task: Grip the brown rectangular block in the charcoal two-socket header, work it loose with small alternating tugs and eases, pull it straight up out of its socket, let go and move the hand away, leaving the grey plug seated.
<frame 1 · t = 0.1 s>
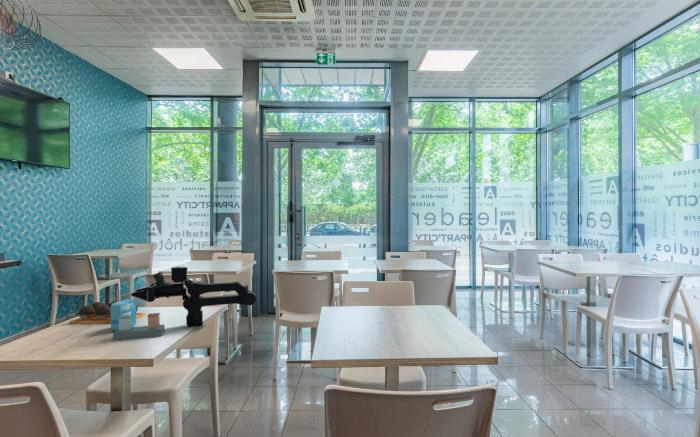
hand: (133, 292, 187), 17 cm above the table, tool horizontal, fingers open, 9 cm apart
chocolates on board: (108, 320, 209), on the table
grey plug: (125, 325, 176), point 5 cm above the table, slide at 0.0 cm
data package: (124, 328, 191), on the table
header: (139, 335, 177), on the table
brown rectangular block: (153, 323, 179), point 5 cm above the table, slide at 0.0 cm
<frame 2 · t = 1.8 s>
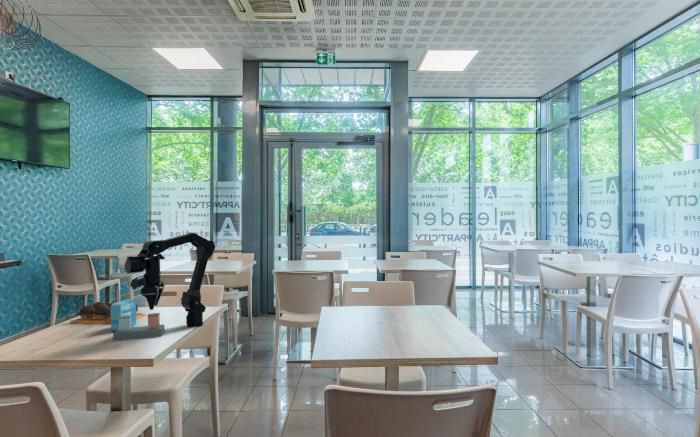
hand: (153, 307, 179), 11 cm above the table, tool pointing down, fingers open, 9 cm apart
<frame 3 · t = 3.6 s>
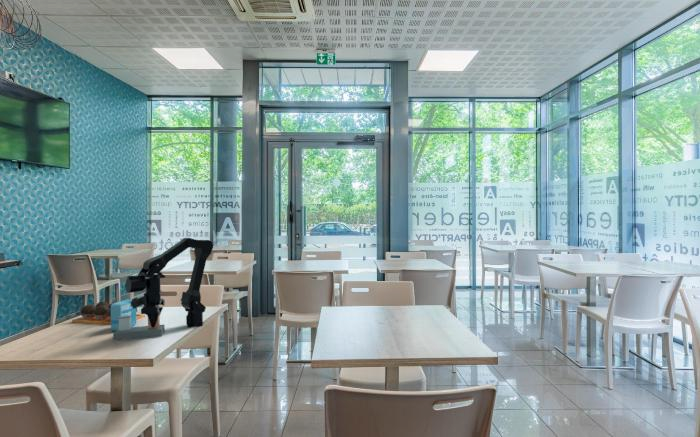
hand: (153, 326, 179), 4 cm above the table, tool pointing down, fingers closed on brown rectangular block, 3 cm apart
brown rectangular block: (153, 323, 179), point 5 cm above the table, slide at 0.0 cm, touching gripper
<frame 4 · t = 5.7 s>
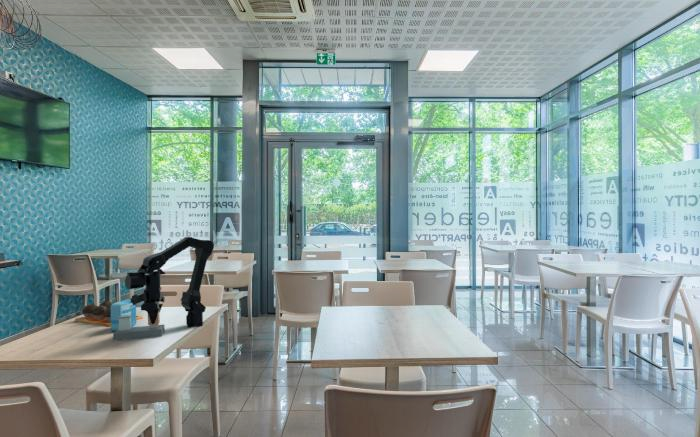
hand: (153, 322, 179), 5 cm above the table, tool pointing down, fingers closed on brown rectangular block, 3 cm apart
brown rectangular block: (153, 320, 179), point 6 cm above the table, slide at 1.4 cm, touching gripper
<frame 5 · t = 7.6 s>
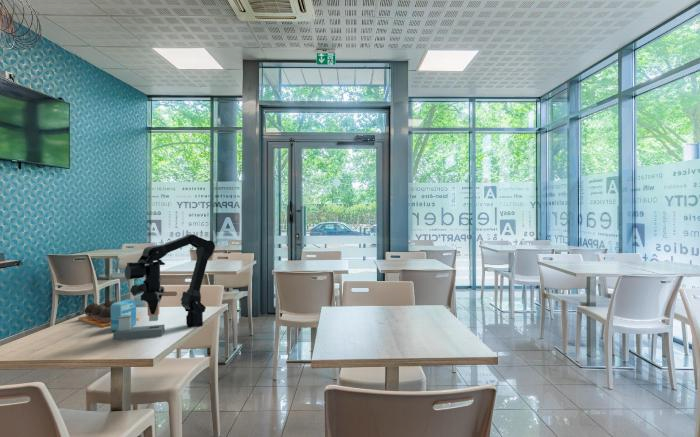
hand: (153, 313, 179), 9 cm above the table, tool pointing down, fingers closed on brown rectangular block, 3 cm apart
brown rectangular block: (153, 310, 179), point 10 cm above the table, slide at 5.4 cm, touching gripper
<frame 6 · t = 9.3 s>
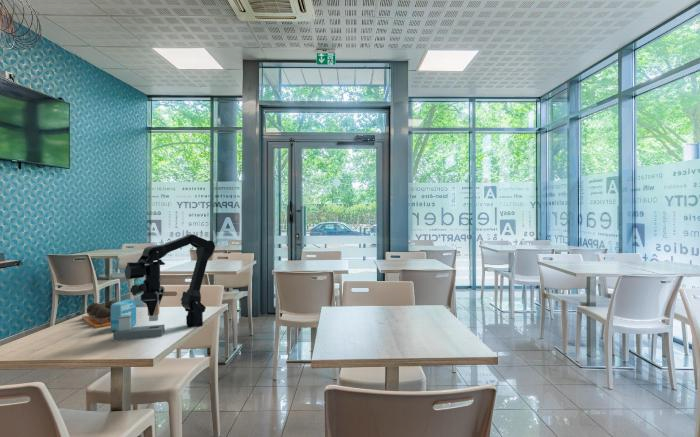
hand: (153, 313, 179), 9 cm above the table, tool pointing down, fingers open, 9 cm apart
brown rectangular block: (153, 310, 179), point 10 cm above the table, slide at 5.4 cm
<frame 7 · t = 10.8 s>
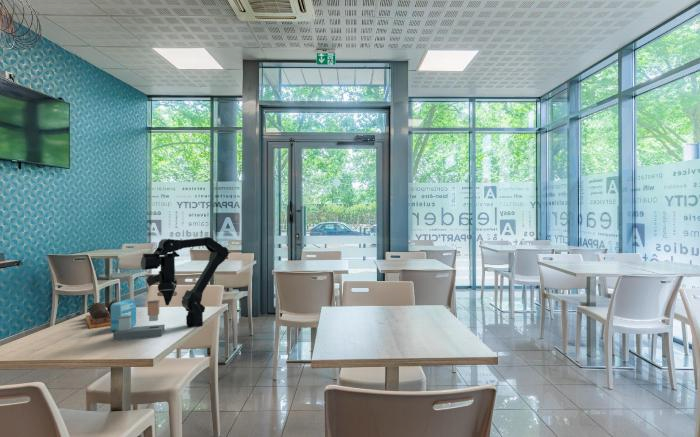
hand: (168, 303, 185), 12 cm above the table, tool pointing down, fingers open, 9 cm apart
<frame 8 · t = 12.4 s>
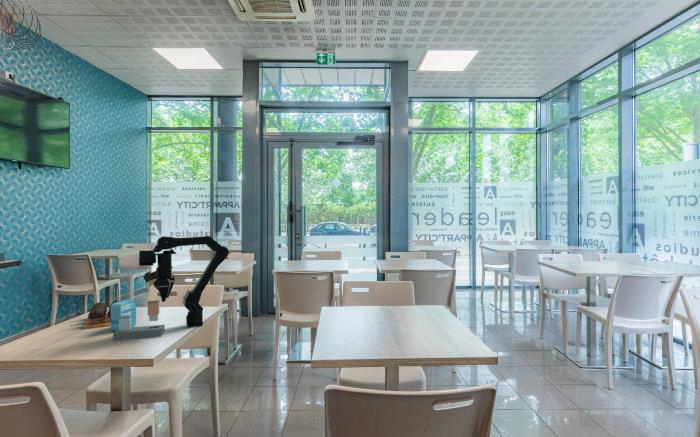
hand: (165, 299, 187), 13 cm above the table, tool pointing down, fingers open, 9 cm apart
at the end: brown rectangular block slide at 5.4 cm; grey plug slide at 0.0 cm; the gripper is holding nothing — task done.
